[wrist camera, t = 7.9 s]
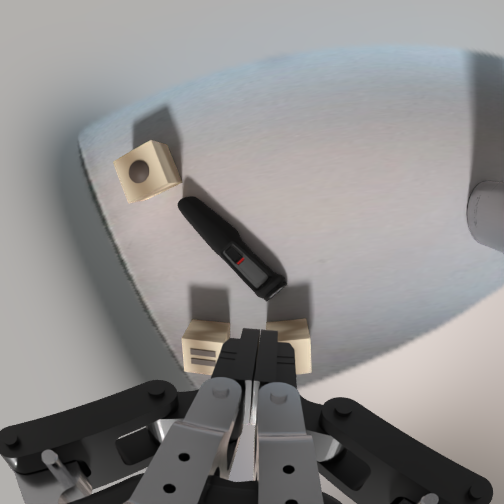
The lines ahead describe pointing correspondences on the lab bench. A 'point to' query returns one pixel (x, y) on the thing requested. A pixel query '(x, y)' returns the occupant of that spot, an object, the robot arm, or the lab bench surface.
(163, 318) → the lab bench surface
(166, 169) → the maple block
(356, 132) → the lab bench surface
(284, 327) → the maple block
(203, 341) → the maple block
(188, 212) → the electric trimmer
